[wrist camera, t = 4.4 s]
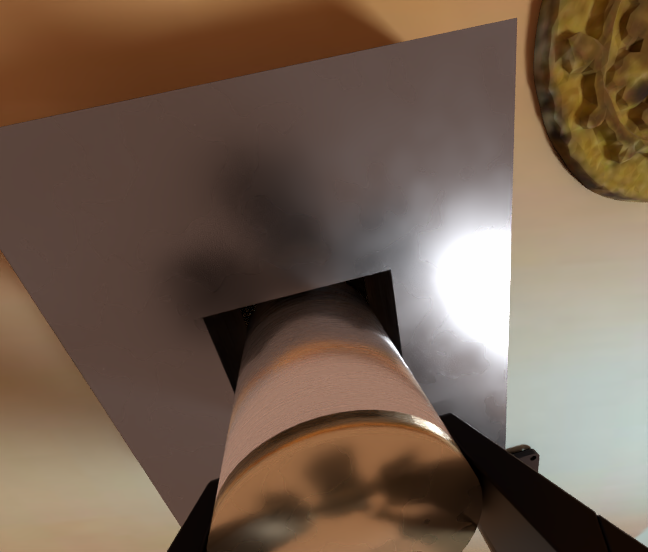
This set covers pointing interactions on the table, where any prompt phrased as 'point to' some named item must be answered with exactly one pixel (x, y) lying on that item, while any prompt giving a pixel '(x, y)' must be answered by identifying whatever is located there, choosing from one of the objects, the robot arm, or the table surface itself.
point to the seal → (596, 91)
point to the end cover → (336, 440)
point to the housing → (272, 231)
